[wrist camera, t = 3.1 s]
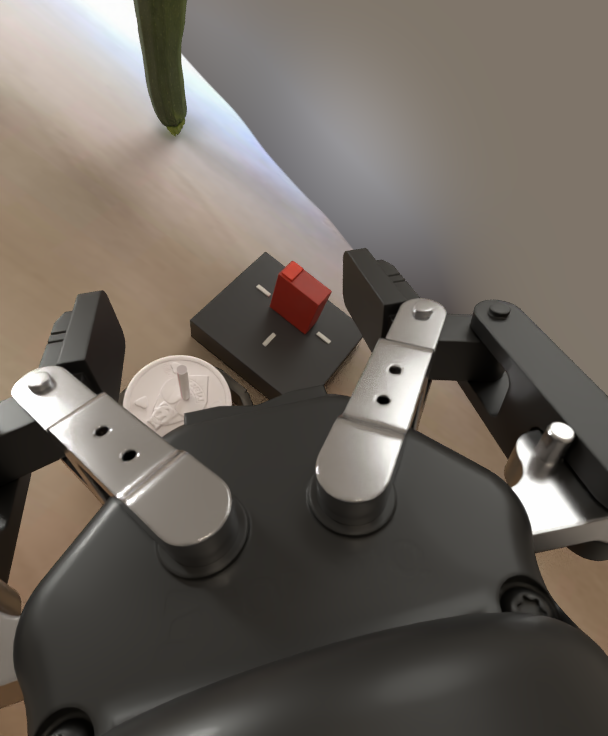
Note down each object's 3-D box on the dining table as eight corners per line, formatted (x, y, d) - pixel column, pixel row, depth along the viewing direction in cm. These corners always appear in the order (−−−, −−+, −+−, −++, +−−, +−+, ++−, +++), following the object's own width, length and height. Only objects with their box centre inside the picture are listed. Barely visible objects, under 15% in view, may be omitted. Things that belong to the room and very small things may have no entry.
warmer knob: (316, 321, 37) (332, 289, 32) (304, 334, 36) (319, 303, 31) (281, 294, 37) (292, 258, 32) (269, 306, 36) (278, 271, 32)
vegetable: (142, 128, 45) (99, -150, 27) (165, 106, 47) (138, -167, 29) (179, 147, 45) (160, -118, 27) (200, 125, 47) (195, -137, 29)
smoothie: (242, 437, 35) (262, 377, 22) (183, 496, 32) (168, 467, 19) (188, 385, 35) (177, 299, 23) (126, 439, 33) (74, 375, 20)
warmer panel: (295, 420, 36) (303, 410, 33) (190, 336, 37) (189, 319, 34) (360, 340, 41) (371, 325, 38) (265, 266, 41) (269, 246, 39)
